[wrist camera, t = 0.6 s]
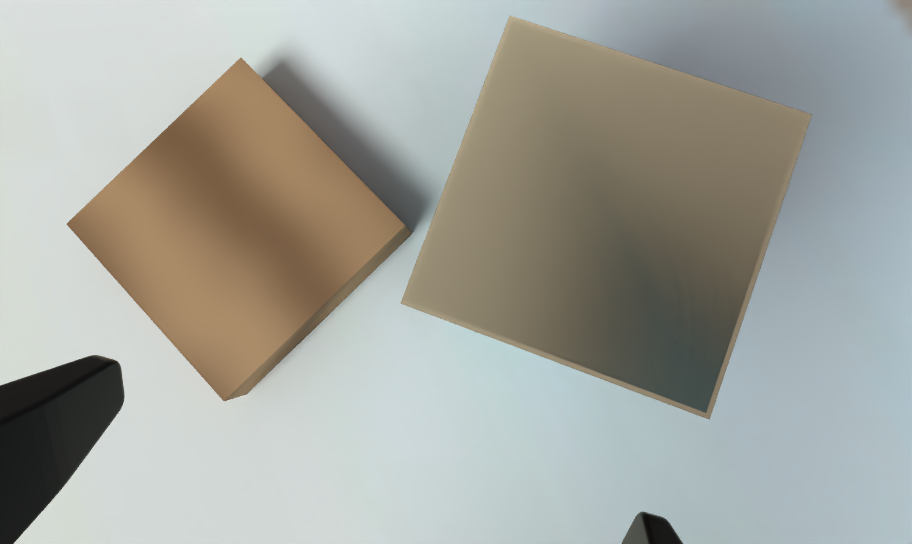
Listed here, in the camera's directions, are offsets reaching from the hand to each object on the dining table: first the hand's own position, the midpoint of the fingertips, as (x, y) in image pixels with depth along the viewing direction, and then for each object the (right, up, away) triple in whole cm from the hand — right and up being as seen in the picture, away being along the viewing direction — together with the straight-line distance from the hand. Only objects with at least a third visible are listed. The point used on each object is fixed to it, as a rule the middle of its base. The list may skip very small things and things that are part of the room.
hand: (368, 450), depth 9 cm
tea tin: (+5, +3, +14) cm, 16 cm away
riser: (-7, +5, +16) cm, 18 cm away
